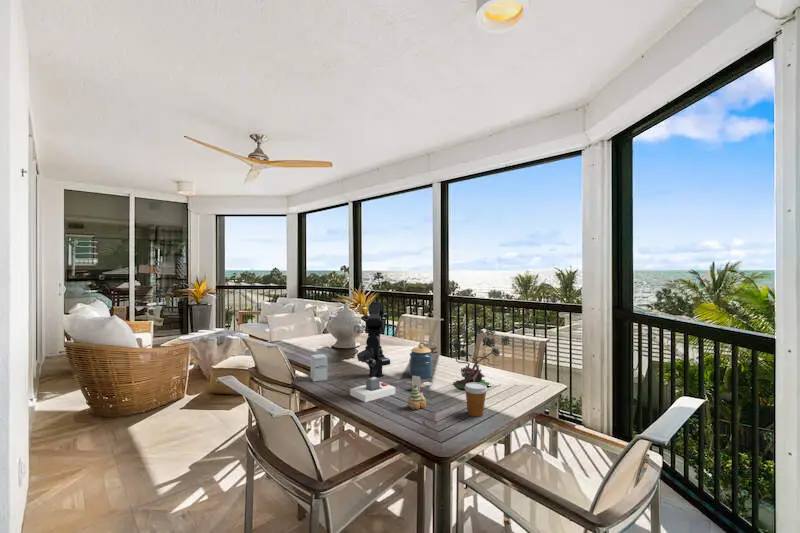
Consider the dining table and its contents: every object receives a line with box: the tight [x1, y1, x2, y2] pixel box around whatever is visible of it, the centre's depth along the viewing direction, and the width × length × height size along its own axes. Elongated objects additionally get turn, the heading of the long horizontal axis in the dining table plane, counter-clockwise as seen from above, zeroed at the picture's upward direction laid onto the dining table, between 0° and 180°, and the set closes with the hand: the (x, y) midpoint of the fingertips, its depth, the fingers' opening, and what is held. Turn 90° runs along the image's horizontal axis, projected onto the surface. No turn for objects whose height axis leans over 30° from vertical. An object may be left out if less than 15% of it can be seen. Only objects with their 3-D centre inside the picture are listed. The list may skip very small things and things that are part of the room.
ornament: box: [406, 385, 427, 410], centre depth 171 cm, size 8×6×10 cm
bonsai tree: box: [452, 325, 511, 390], centre depth 201 cm, size 35×24×32 cm
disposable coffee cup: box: [463, 382, 488, 417], centre depth 165 cm, size 10×10×12 cm
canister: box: [408, 343, 434, 379], centre depth 219 cm, size 13×13×18 cm
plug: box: [365, 376, 381, 391], centre depth 187 cm, size 5×4×7 cm
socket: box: [349, 381, 396, 403], centre depth 187 cm, size 18×12×4 cm, turn 132°
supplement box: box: [310, 353, 329, 382], centre depth 209 cm, size 7×7×13 cm
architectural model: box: [411, 375, 427, 392], centre depth 194 cm, size 3×7×7 cm, turn 41°
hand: (373, 376), depth 187 cm, fingers closed
